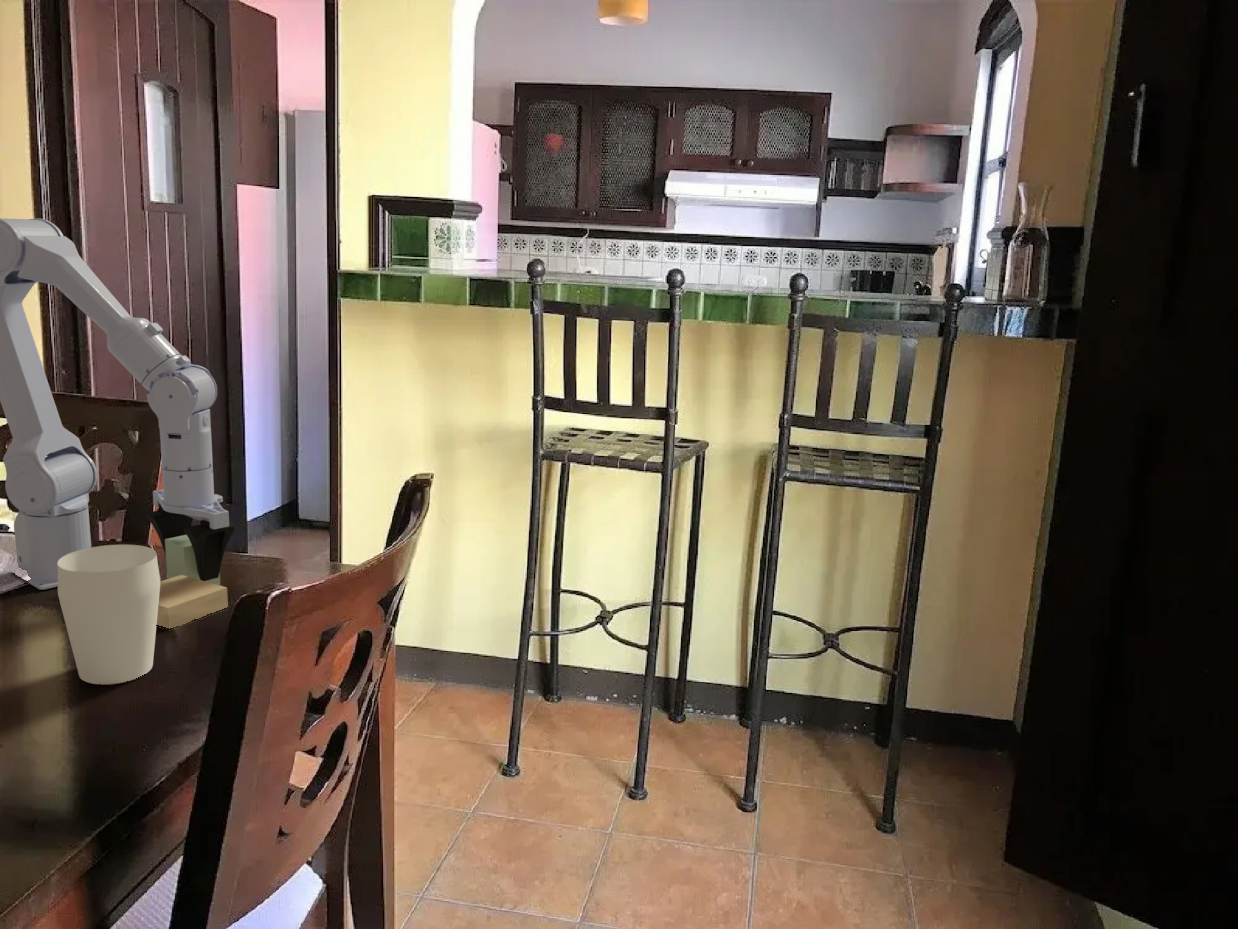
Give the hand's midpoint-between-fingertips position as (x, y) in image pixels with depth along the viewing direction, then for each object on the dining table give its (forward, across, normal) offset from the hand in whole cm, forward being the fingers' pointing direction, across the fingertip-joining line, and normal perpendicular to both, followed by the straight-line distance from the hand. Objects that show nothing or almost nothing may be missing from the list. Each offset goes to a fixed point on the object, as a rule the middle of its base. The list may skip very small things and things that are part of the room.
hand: (193, 571), depth 123 cm
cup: (+2, -18, +18) cm, 26 cm away
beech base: (+2, -7, +6) cm, 9 cm away
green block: (+2, 0, 0) cm, 2 cm away
